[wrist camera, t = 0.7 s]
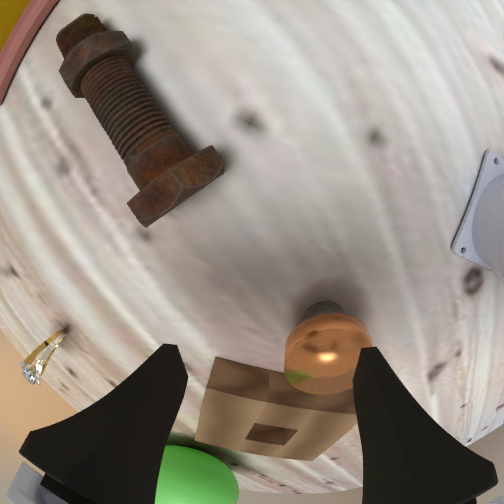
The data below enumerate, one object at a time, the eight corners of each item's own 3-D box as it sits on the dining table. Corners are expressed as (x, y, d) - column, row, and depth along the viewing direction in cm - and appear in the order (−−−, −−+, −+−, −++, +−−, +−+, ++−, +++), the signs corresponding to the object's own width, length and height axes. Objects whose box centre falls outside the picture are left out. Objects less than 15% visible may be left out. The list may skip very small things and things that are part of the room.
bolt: (113, 32, 13) (214, 180, 18) (56, 67, 13) (150, 225, 17) (104, -16, 8) (235, 164, 12) (30, 28, 7) (140, 230, 11)
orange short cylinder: (373, 296, 18) (392, 344, 14) (341, 350, 21) (349, 398, 16) (300, 277, 18) (303, 326, 14) (276, 336, 21) (272, 386, 16)
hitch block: (360, 385, 22) (365, 414, 19) (312, 437, 28) (312, 460, 25) (215, 356, 22) (206, 387, 19) (201, 416, 28) (194, 440, 25)
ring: (65, 351, 27) (33, 394, 20) (47, 333, 26) (13, 374, 19) (82, 333, 24) (43, 384, 17) (61, 312, 24) (19, 359, 16)
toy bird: (198, 424, 29) (169, 523, 16) (267, 466, 34) (257, 542, 21) (123, 429, 35) (94, 496, 22) (189, 470, 40) (173, 528, 27)
